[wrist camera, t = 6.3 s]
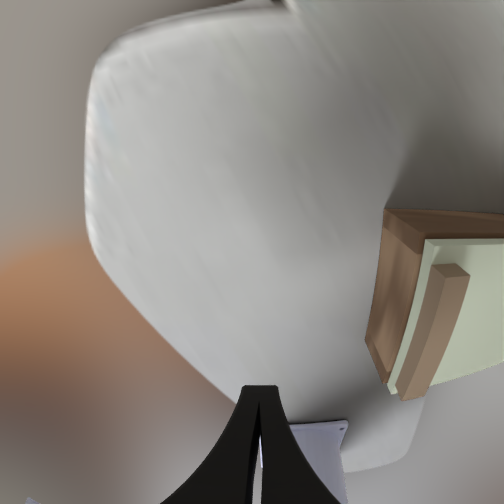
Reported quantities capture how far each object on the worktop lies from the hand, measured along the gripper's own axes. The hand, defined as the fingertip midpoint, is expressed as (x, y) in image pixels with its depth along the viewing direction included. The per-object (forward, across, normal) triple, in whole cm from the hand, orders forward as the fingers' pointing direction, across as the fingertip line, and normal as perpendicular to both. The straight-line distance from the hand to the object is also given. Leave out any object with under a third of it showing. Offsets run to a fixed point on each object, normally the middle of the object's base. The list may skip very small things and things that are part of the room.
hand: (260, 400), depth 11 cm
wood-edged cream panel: (+3, -15, -2) cm, 15 cm away
